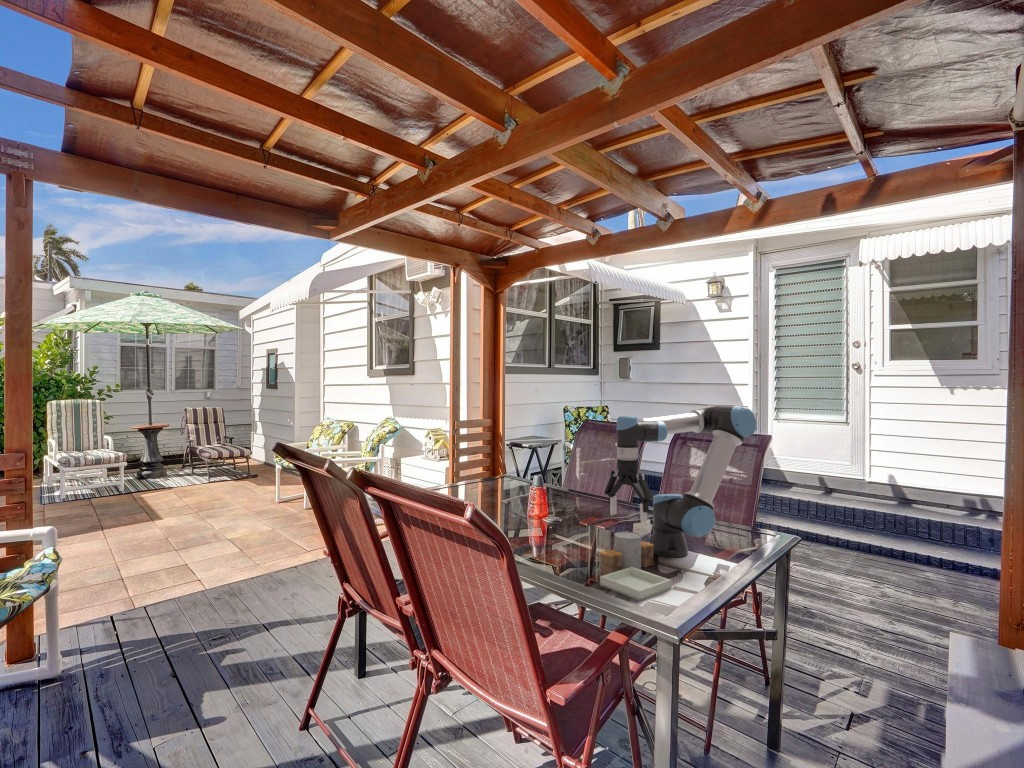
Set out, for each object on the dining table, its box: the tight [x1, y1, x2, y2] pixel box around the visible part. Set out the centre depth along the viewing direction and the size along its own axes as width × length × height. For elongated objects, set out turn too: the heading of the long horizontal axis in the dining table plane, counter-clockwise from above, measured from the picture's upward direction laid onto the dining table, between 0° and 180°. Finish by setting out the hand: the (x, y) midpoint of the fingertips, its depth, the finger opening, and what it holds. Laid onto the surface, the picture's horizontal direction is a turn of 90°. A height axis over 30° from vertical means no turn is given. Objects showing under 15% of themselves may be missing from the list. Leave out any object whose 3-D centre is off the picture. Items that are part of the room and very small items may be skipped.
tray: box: [599, 567, 672, 602], centre depth 162 cm, size 16×16×3 cm
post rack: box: [599, 540, 654, 576], centre depth 180 cm, size 23×5×8 cm, turn 127°
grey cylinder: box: [613, 531, 642, 570], centre depth 180 cm, size 10×10×12 cm
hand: (628, 517), depth 180 cm, fingers open, 13 cm apart
